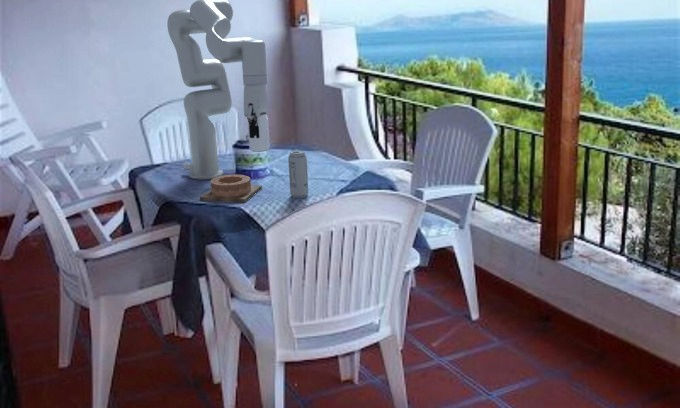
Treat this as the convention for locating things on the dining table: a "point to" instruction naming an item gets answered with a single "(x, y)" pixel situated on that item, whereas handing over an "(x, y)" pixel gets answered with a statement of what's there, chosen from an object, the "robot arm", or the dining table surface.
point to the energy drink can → (298, 174)
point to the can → (260, 135)
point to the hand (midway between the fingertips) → (258, 135)
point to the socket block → (231, 189)
